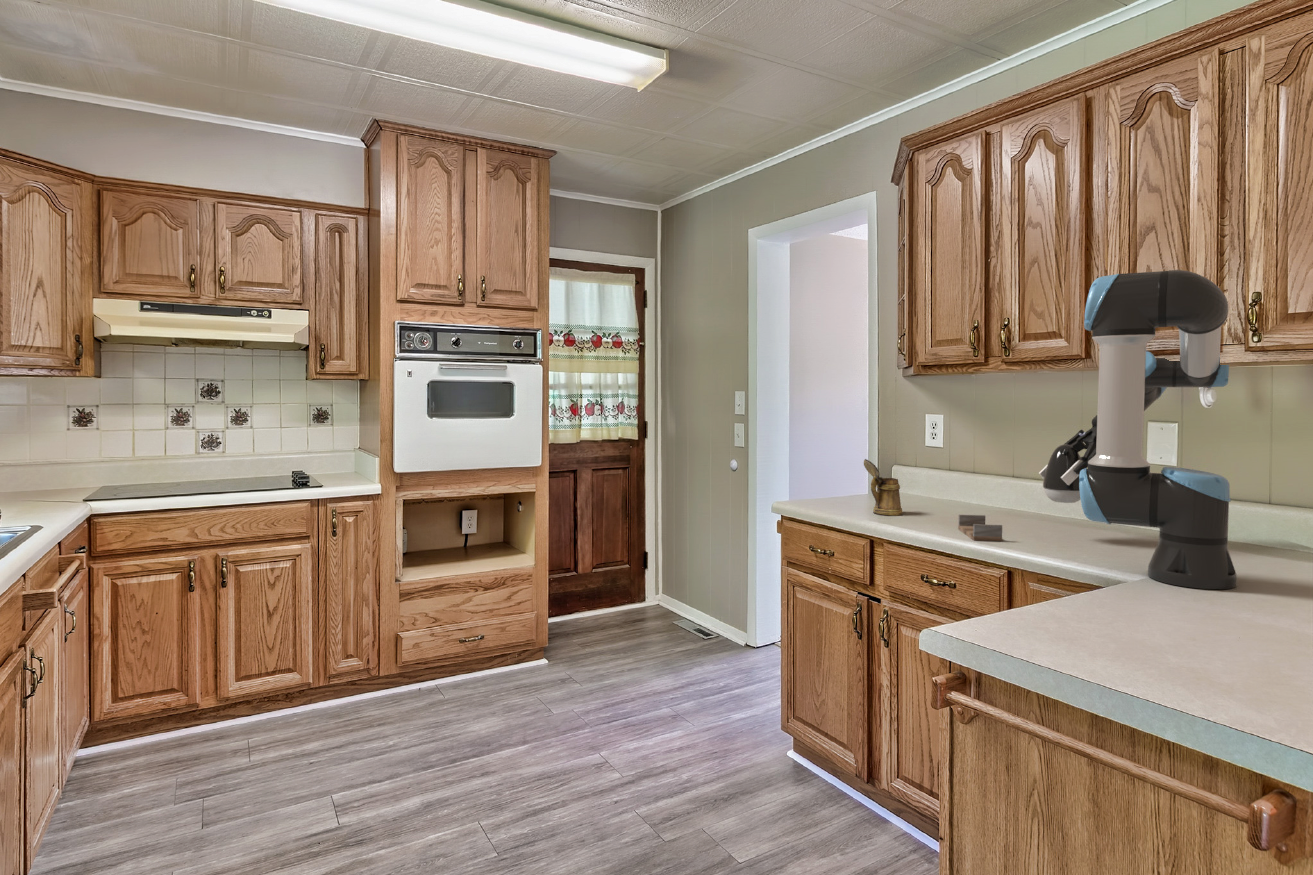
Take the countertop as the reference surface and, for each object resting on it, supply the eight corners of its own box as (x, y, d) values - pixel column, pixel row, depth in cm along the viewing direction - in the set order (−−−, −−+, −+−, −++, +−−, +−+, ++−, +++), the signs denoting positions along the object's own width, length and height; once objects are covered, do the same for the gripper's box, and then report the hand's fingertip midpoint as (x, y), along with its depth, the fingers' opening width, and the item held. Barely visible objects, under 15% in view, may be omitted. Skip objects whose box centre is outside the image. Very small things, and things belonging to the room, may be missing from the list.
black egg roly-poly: (1042, 502, 196) (1044, 444, 195) (1042, 498, 206) (1044, 442, 205) (1087, 505, 192) (1089, 446, 191) (1085, 500, 201) (1087, 443, 200)
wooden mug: (855, 513, 243) (856, 457, 241) (891, 510, 247) (892, 456, 246) (872, 517, 234) (872, 460, 233) (908, 514, 239) (909, 458, 237)
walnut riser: (1001, 541, 198) (1002, 525, 197) (974, 540, 199) (974, 524, 198) (984, 529, 213) (984, 515, 213) (958, 529, 214) (958, 514, 214)
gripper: (1152, 431, 187) (1088, 494, 187) (1097, 427, 209) (1039, 484, 210) (1132, 410, 187) (1068, 473, 187) (1079, 408, 209) (1021, 465, 209)
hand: (1053, 479), depth 198 cm, fingers closed on black egg roly-poly, 10 cm apart
